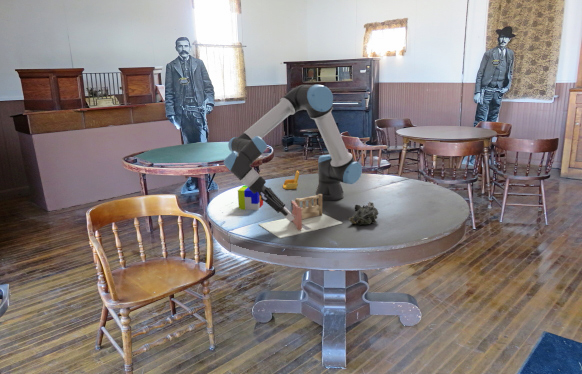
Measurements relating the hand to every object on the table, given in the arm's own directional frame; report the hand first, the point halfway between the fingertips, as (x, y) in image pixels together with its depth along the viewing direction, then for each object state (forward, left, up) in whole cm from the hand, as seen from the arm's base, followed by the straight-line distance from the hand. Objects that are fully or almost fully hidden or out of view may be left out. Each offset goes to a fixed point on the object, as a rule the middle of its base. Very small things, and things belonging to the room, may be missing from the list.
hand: (292, 219), depth 192 cm
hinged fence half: (-3, -1, -3) cm, 4 cm away
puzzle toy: (+2, -39, -4) cm, 40 cm away
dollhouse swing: (-35, -62, -4) cm, 72 cm away
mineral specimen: (-30, +10, -4) cm, 32 cm away
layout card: (-5, -2, -4) cm, 7 cm away
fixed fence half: (-13, -7, -4) cm, 16 cm away
